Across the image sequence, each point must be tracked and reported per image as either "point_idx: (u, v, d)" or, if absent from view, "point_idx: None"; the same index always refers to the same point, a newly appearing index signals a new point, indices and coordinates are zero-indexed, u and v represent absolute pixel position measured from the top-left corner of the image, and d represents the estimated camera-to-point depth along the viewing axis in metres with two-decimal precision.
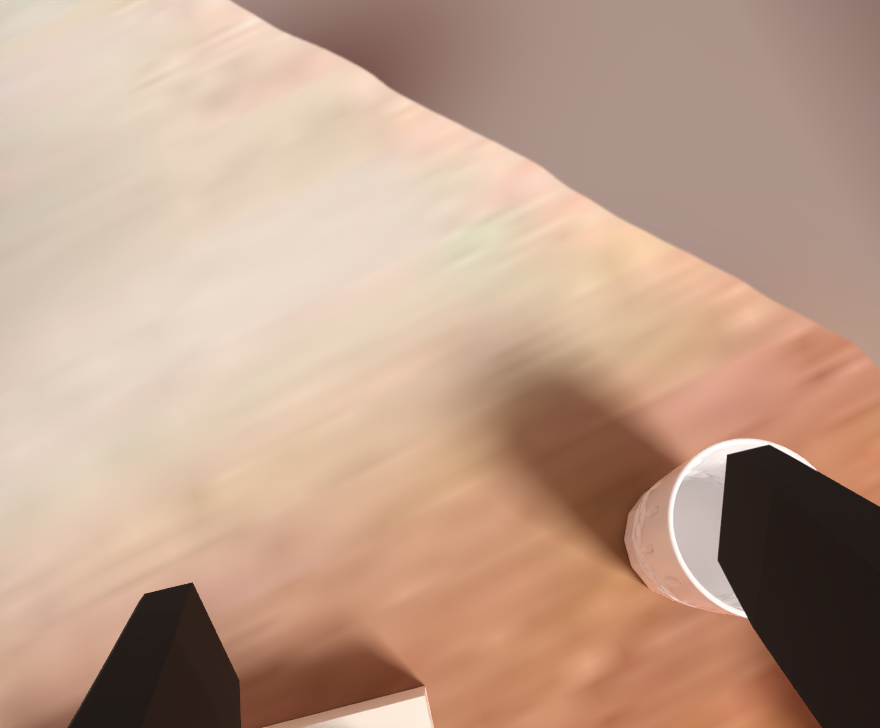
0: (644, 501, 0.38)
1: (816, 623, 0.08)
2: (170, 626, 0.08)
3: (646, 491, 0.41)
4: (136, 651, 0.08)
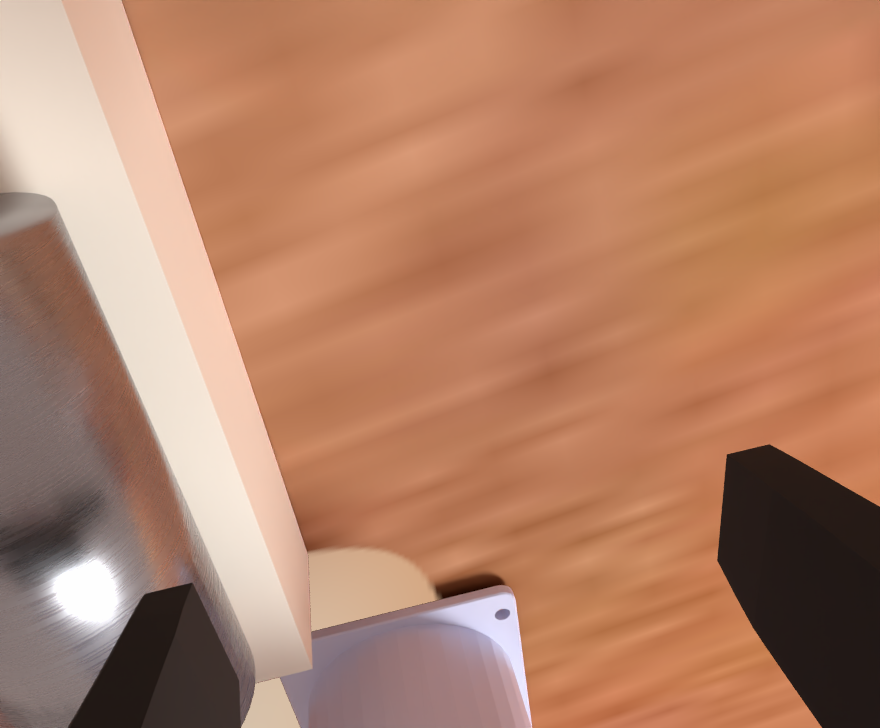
0: None
1: (817, 622, 0.08)
2: (170, 626, 0.08)
3: None
4: (136, 651, 0.08)
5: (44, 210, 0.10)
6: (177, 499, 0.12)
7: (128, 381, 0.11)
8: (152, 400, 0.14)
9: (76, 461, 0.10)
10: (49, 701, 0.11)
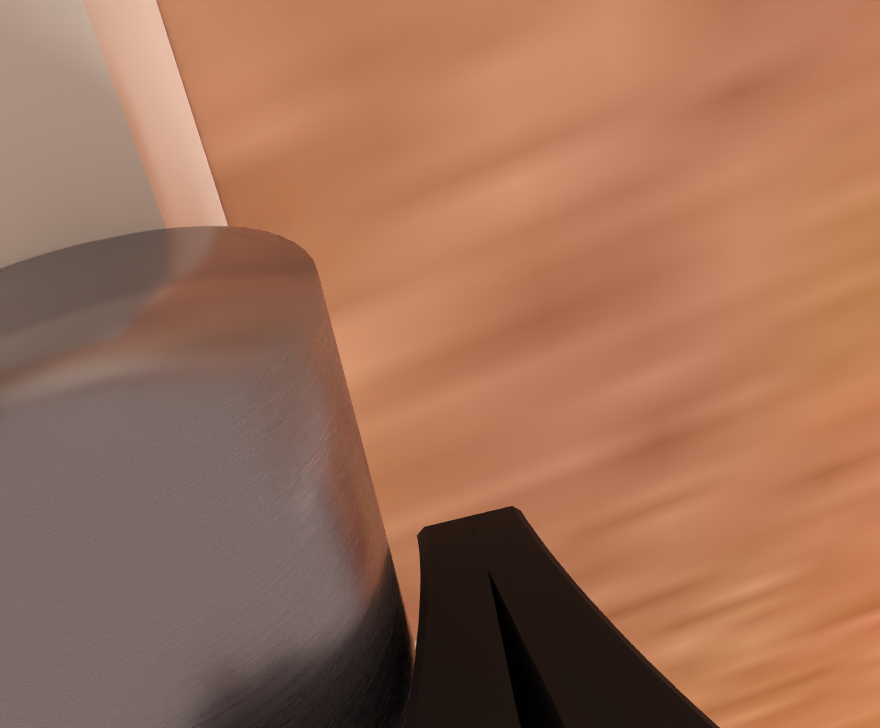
0: None
1: (523, 701, 0.08)
2: (474, 552, 0.08)
3: None
4: (453, 573, 0.08)
5: (169, 233, 0.08)
6: None
7: None
8: None
9: None
10: None
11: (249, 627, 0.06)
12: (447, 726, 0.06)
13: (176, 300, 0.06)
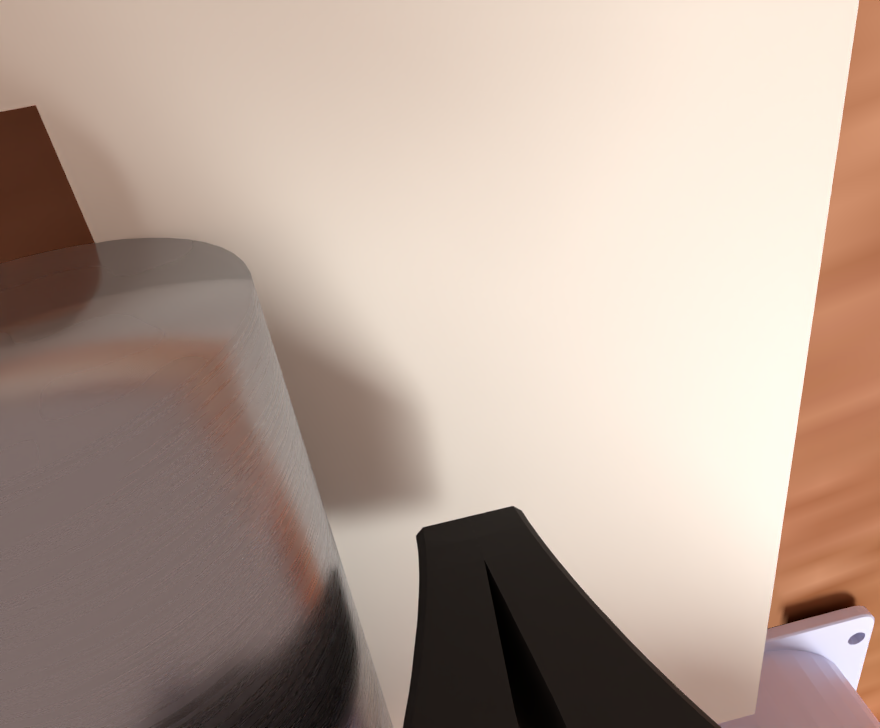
0: None
1: (524, 699, 0.08)
2: (473, 552, 0.08)
3: None
4: (451, 573, 0.08)
5: None
6: None
7: None
8: (738, 400, 0.11)
9: None
10: None
11: None
12: (445, 726, 0.06)
13: None
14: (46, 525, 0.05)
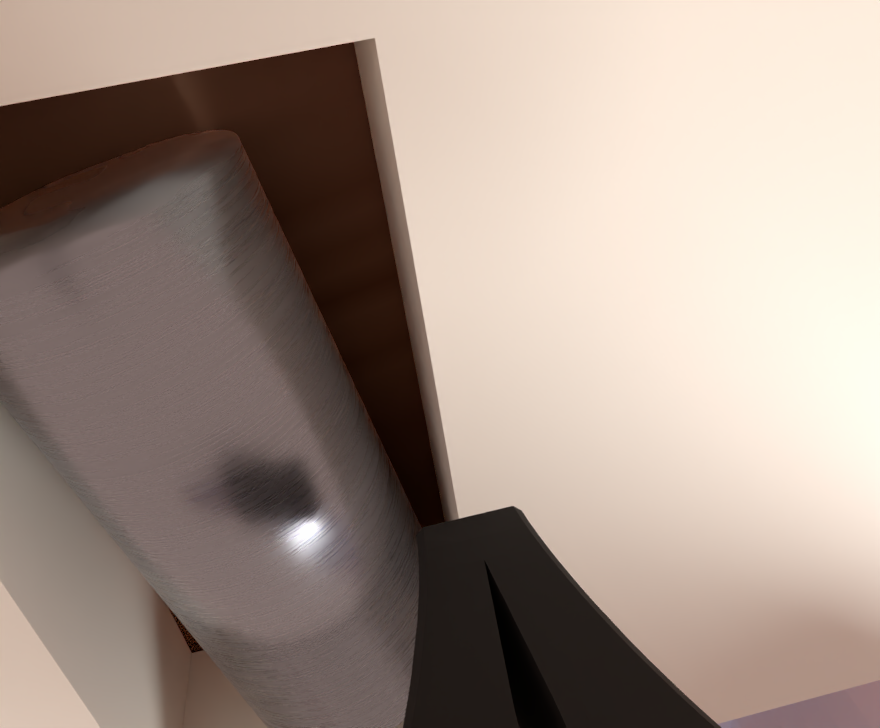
0: None
1: (525, 699, 0.08)
2: (473, 552, 0.08)
3: None
4: (451, 573, 0.08)
5: (226, 149, 0.09)
6: (371, 452, 0.12)
7: (317, 329, 0.11)
8: None
9: (259, 415, 0.10)
10: (248, 639, 0.11)
11: (22, 420, 0.09)
12: (445, 726, 0.06)
13: (91, 214, 0.09)
14: None
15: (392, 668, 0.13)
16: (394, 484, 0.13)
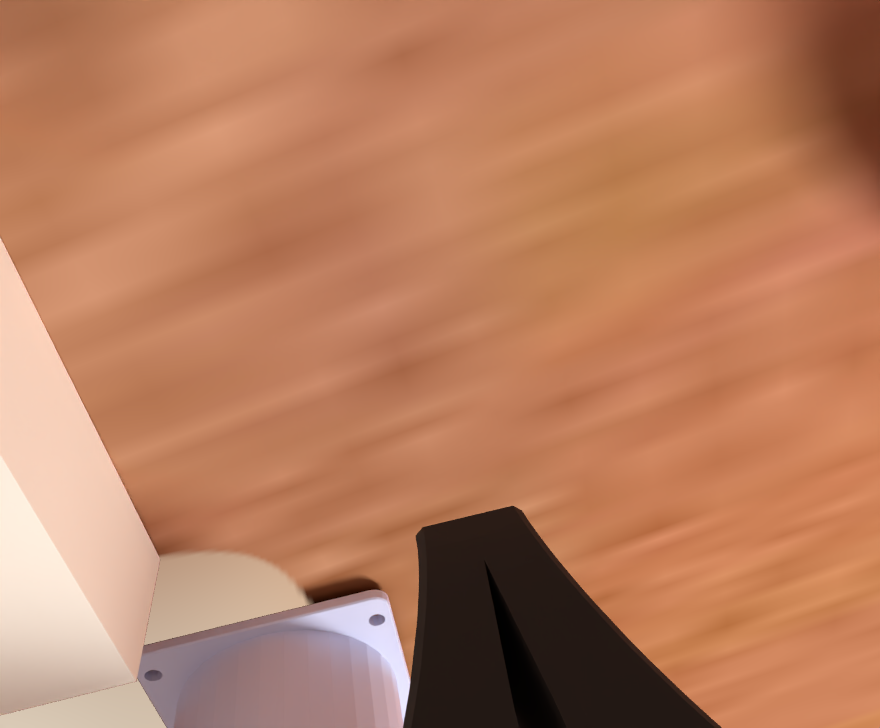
0: None
1: (524, 699, 0.08)
2: (473, 552, 0.08)
3: None
4: (451, 574, 0.08)
5: None
6: None
7: None
8: None
9: None
10: None
11: None
12: (445, 726, 0.06)
13: None
14: None
15: None
16: None
